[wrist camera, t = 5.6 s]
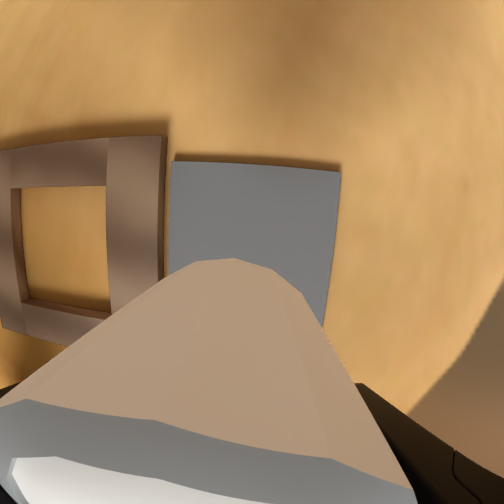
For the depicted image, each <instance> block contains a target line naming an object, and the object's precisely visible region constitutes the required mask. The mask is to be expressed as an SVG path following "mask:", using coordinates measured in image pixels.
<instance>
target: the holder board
mask: <svg viewBox="0 0 504 504" xmlns="http://www.w3.org/2000/svg"><path fill="white" fill-rule="evenodd" d="M166 152H167V137H165V136H162V135H153V136H126V137H109V138H95V139H83V140H73V141H63V142H55V143H47V144H39V145H32V146H25V147H19V148H13V149H7V150H2V151H0V318H1V323H2V327H3V328H6V329H9V330H12V331H15V332H18V333H21V334H24V335H28V336H31V337H34V338H38V339H41V340H45V341H49V342H52V343H56V344H60V345H64V346H67V347H69V346H70V345H71V344H73V343H74V342H75V341H77V340H78V339H80V338H81V337H82V336H84V335H85V334H86V333H88V332H89V331H90V330H92V329H93V328H95V327H96V326H97V325H99V324H100V323H101V322H103V321H104V320H106V319H107V318H108V317H110V316H111V315H113V314H114V313H115V312H117V311H118V310H120V309H121V308H122V307H124V306H125V305H127V304H128V303H129V302H131V301H132V300H134V299H135V298H136V297H138V296H139V295H141V294H142V293H143V292H145V291H146V290H148V289H149V288H151V287H152V286H153V285H155V284H156V283H158V282H159V281H161V280H162V279H163V278H164V274H163V226H164V190H165V168H166ZM61 186H106V241H107V263H108V279H109V292H110V303H111V312H112V313H109V312H103V311H97V310H91V309H85V308H79V307H74V306H68V305H63V304H58V303H53V302H48V301H43V300H38V299H34V298H29V293H28V286H27V280H26V272H25V264H24V255H23V244H22V231H21V210H20V188H33V187H61Z"/></svg>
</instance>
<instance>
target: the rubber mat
mask: <svg viewBox="0 0 504 504" xmlns="http://www.w3.org/2000/svg"><path fill="white" fill-rule="evenodd" d="M340 182H341V172H332V171H323V170H314V169H304V168H294V167H282V166H270V165H255V164H239V163H218V162H186V161H171V176H170V200H169V275H171V274H172V273H174V272H176V271H178V270H180V269H182V268H184V267H186V266H187V265H189V264H191V263H193V262H195V261H204V260H216V259H228V258H236V259H239V260H242V261H246V262H249V263H252V264H255V265H259V266H262V267H265V268H269V269H272V270H273V271H275V272H276V273H277V274H278V275H279V276H281V277H282V278H283V279H284V280H286V281H287V282H288V283H289V284H291V285H292V286H293V287H294V288H296V289H297V290H298V291H299V292H301V293H302V295H303V297H304V299H305V300H306V302H307V304H308V305H309V307H310V309H311V310H312V312H313V314H314V315H315V317H316V319H317V320H318V322H319V324H320V326H321V327H322V325H323V319H324V313H325V306H326V300H327V293H328V287H329V280H330V273H331V265H332V258H333V250H334V242H335V233H336V224H337V214H338V204H339V194H340Z"/></svg>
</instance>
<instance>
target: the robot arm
mask: <svg viewBox="0 0 504 504" xmlns="http://www.w3.org/2000/svg"><path fill="white" fill-rule="evenodd" d="M20 383H21V382H19V383H16V384H13V385H11V386H8V387H5V388H2V389H0V398H2V397H3V396H4V395H6V394H7V393H8V392H9V391H11V390H12V389H13V388H15V387H16V386H17V385H18V384H20ZM354 384H355V386H356V388H357V389H358V391H359V393H360V395H361V396H362V398H363V400H364V402H365V403H366V405H367V407H368V409H369V411H370V412H371V414H372V416H373V418H374V419H375V421H376V423H377V425H378V427H379V428H380V430H381V432H382V434H383V436H384V437H385V439H386V441H387V443H388V445H389V446H390V448H391V450H392V452H393V454H394V455H395V457H396V459H397V461H398V463H399V465H400V466H401V468H402V470H403V472H404V474H405V476H406V477H407V479H408V481H409V483H410V485H411V487H412V488H413V491H414V494H415V497H416V500H417V503H418V504H504V478H502V477H500V476H498V475H496V474H494V473H492V472H490V471H489V470H487V469H485V468H483V467H481V466H480V465H478V464H477V463H475V462H473V461H472V460H470V459H469V458H467V457H466V456H464V455H463V454H461V453H459V452H458V451H457V450H455V451H454V448H452V447H451V446H449V445H448V444H446V443H445V442H443V441H442V440H441V439H439V438H438V437H436V436H435V435H433V434H432V433H431V432H429V431H428V430H426V429H425V428H423V427H422V426H421V425H419V424H418V423H416V422H415V421H414V420H412V419H411V418H409V417H408V416H407V415H405V414H404V413H402V412H401V411H400V410H398V409H397V408H396V407H394V406H393V405H391V404H390V403H389V402H387V401H386V400H385V399H383V398H382V397H380V396H379V395H378V394H376V393H375V392H374V391H372V390H371V389H370V388H368V387H367V386H366V385H364V384H362V383H354ZM0 504H18V503H17V502H16V501H15V500H14V499H13V498H12V497H11V496H10V495H9V494H8V493H7V492H6V491H5V489H4V488H3V487H2V486H1V484H0Z"/></svg>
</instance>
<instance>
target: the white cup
mask: <svg viewBox="0 0 504 504" xmlns="http://www.w3.org/2000/svg"><path fill="white" fill-rule="evenodd" d="M0 484H1V486H2V487H3V488H4V489H5V491H6V492H7V493H8V494H9V495H10V496H11V497H12V498H13V499H14V500H15V501H16V502H17V503H18V504H418V503H417V500H416V497H415V494H414V491H413V488H412V487H411V485H410V483H409V481H408V479H407V477H406V476H405V474H404V472H403V470H402V468H401V466H400V465H399V463H398V461H397V459H396V457H395V455H394V454H393V452H392V450H391V448H390V446H389V445H388V443H387V441H386V439H385V437H384V436H383V434H382V432H381V430H380V428H379V427H378V425H377V423H376V421H375V419H374V418H373V416H372V414H371V412H370V411H369V409H368V407H367V405H366V403H365V402H364V400H363V398H362V396H361V395H360V393H359V391H358V389H357V388H356V386H355V384H354V382H353V381H352V379H351V377H350V375H349V374H348V372H347V370H346V368H345V367H344V365H343V363H342V362H341V360H340V358H339V356H338V355H337V353H336V351H335V350H334V348H333V346H332V344H331V343H330V341H329V339H328V338H327V336H326V334H325V332H324V331H323V329H322V327H321V326H320V324H319V322H318V320H317V319H316V317H315V315H314V314H313V312H312V310H311V309H310V307H309V305H308V304H307V302H306V300H305V299H304V297H303V295H302V293H301V292H299V291H298V290H297V289H296V288H294V287H293V286H292V285H291V284H289V283H288V282H287V281H286V280H284V279H283V278H282V277H281V276H279V275H278V274H277V273H276V272H275V271H273V270H272V269H269V268H265V267H262V266H259V265H255V264H252V263H249V262H246V261H242V260H239V259H236V258H228V259H216V260H204V261H195V262H193V263H191V264H189V265H187V266H186V267H184V268H182V269H180V270H178V271H176V272H174V273H172V274H171V275H169V276H167V277H165V278H163V279H162V280H161V281H159V282H158V283H156V284H155V285H153V286H152V287H151V288H149V289H148V290H146V291H145V292H143V293H142V294H141V295H139V296H138V297H136V298H135V299H134V300H132V301H131V302H129V303H128V304H127V305H125V306H124V307H122V308H121V309H120V310H118V311H117V312H115V313H114V314H113V315H111V316H110V317H108V318H107V319H106V320H104V321H103V322H101V323H100V324H99V325H97V326H96V327H95V328H93V329H92V330H90V331H89V332H88V333H86V334H85V335H84V336H82V337H81V338H80V339H78V340H77V341H75V342H74V343H73V344H71V345H70V346H69V347H67V348H66V349H65V350H63V351H62V352H61V353H59V354H58V355H57V356H55V357H54V358H53V359H51V360H50V361H49V362H47V363H46V364H45V365H43V366H42V367H41V368H39V369H38V370H37V371H35V372H34V373H33V374H31V375H30V376H29V377H28V378H26V379H25V380H24V381H22V382H21V383H20V384H18V385H17V386H16V387H15V388H13V389H12V390H11V391H9V392H8V393H7V394H6V395H4V396H3V397H2V398H0Z"/></svg>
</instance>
